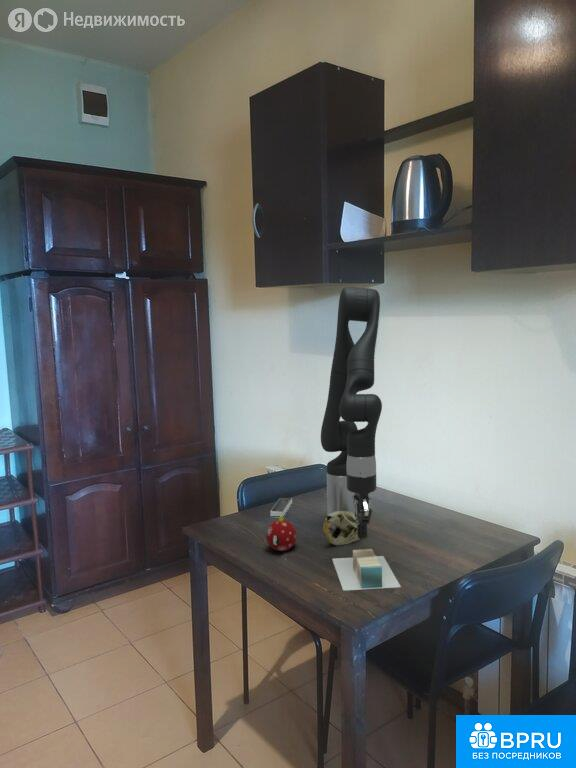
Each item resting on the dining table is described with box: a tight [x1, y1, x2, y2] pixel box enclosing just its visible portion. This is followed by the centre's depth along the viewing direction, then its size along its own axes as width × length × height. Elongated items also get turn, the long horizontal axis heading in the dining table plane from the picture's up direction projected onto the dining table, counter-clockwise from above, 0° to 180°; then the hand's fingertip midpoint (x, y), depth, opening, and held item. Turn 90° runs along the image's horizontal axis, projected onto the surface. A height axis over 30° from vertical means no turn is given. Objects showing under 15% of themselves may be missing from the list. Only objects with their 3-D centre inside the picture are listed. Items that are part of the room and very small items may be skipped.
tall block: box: [352, 548, 382, 588], centre depth 143 cm, size 5×5×11 cm
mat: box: [331, 555, 402, 592], centre depth 146 cm, size 18×14×1 cm
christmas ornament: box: [265, 516, 298, 552], centre depth 162 cm, size 9×9×10 cm
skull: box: [322, 511, 361, 546], centre depth 166 cm, size 10×16×10 cm, turn 134°
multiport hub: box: [269, 497, 293, 517], centre depth 196 cm, size 4×14×2 cm, turn 168°
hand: (362, 537), depth 148 cm, fingers closed
